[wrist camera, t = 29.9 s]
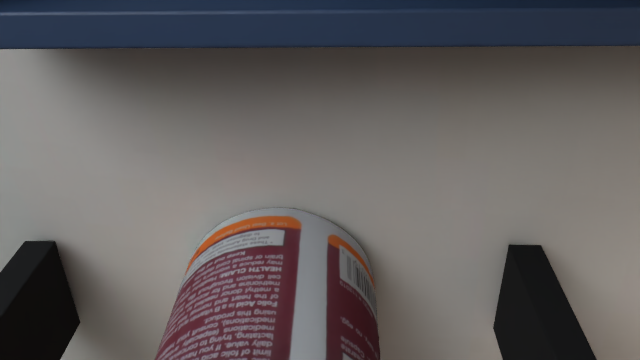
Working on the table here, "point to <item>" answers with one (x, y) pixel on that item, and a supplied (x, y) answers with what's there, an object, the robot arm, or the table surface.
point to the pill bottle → (275, 293)
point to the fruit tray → (316, 23)
